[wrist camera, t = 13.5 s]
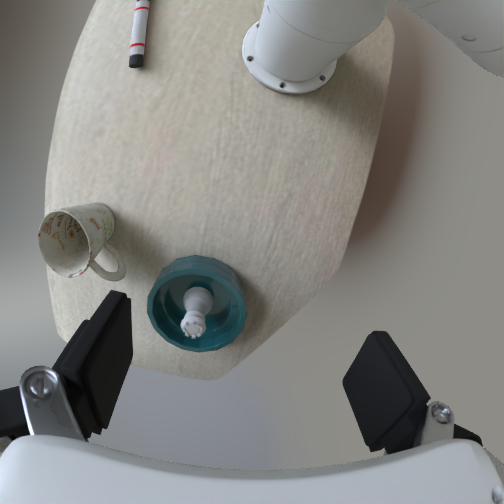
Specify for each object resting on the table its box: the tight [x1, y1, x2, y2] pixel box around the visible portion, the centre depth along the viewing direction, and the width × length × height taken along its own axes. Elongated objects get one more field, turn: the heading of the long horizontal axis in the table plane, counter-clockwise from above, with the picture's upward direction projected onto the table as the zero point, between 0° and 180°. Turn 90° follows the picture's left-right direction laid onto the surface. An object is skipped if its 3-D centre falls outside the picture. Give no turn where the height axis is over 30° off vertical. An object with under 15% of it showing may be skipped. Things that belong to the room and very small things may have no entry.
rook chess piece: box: [181, 287, 214, 338], centre depth 36 cm, size 4×4×8 cm
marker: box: [129, 0, 150, 68], centre depth 24 cm, size 15×2×2 cm, turn 1°
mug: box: [38, 203, 126, 281], centre depth 31 cm, size 8×13×10 cm, turn 43°
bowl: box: [147, 255, 247, 352], centre depth 38 cm, size 14×14×5 cm
